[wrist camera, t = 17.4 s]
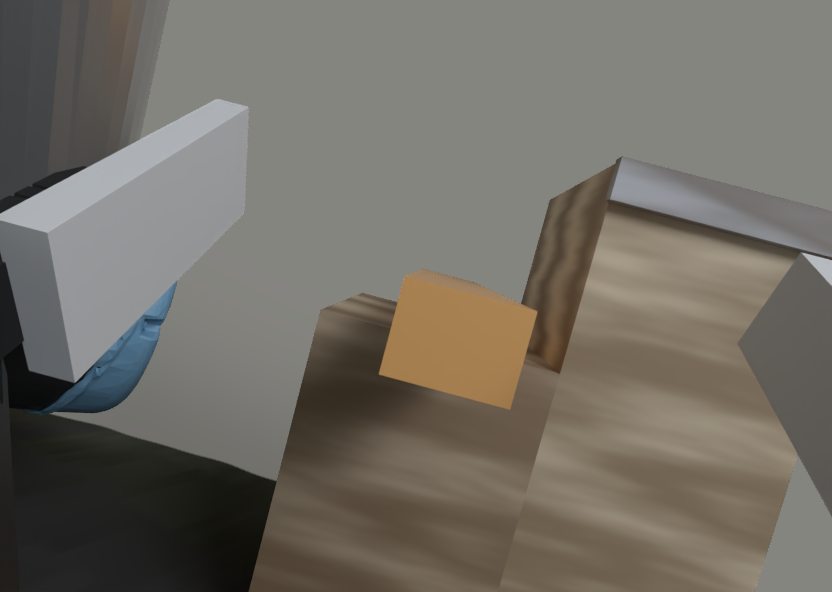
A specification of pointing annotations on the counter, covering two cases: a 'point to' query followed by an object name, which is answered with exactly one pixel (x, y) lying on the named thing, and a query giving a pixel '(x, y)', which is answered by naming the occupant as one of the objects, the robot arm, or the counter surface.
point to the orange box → (458, 338)
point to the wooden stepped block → (561, 416)
